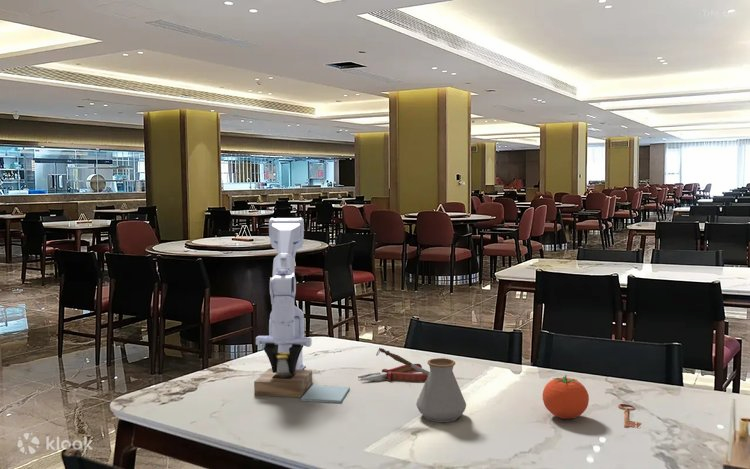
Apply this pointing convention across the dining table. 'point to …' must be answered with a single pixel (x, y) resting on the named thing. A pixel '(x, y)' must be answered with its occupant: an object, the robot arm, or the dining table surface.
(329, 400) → the rubber mat
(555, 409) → the tomato
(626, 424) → the key
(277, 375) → the steel key peg
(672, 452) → the dining table surface
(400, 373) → the pliers
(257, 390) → the block
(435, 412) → the coffee pot
